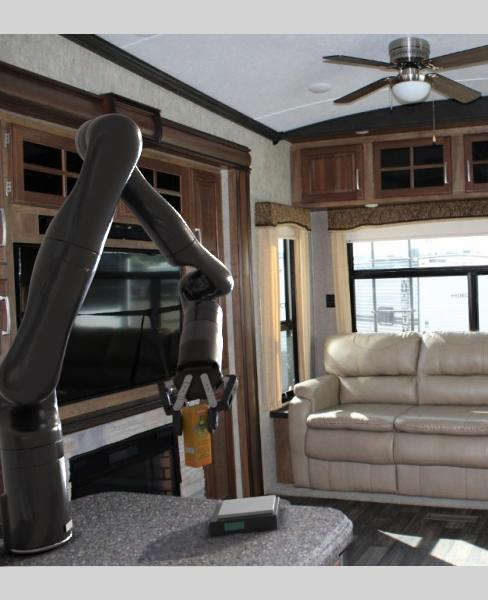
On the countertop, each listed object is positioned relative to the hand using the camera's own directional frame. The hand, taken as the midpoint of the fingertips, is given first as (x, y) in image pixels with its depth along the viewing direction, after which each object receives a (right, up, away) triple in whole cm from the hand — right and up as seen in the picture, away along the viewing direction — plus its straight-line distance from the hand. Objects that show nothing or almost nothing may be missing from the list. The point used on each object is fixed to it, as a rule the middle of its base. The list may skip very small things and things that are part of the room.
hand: (194, 431), depth 111 cm
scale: (+7, -17, +6) cm, 19 cm away
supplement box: (0, -6, +2) cm, 7 cm away
